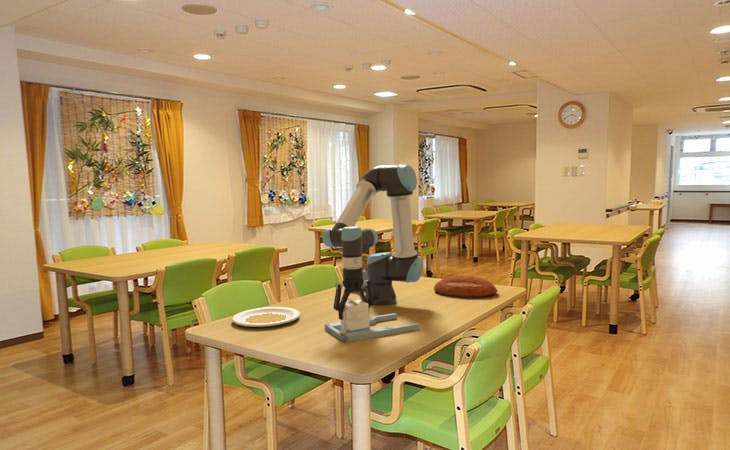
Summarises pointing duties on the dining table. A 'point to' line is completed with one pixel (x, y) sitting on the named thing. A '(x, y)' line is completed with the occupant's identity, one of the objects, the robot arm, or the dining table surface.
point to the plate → (289, 312)
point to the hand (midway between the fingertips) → (354, 325)
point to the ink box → (356, 316)
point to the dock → (369, 333)
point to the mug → (364, 278)
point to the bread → (465, 286)
